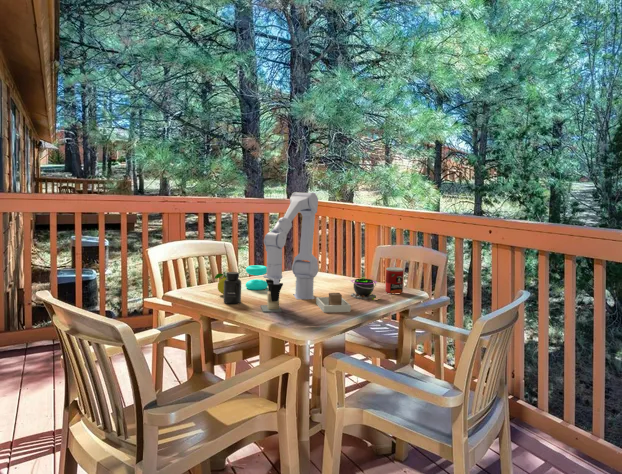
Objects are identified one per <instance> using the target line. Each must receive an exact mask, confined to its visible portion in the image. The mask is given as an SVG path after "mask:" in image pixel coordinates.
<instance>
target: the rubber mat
mask: <svg viewBox="0 0 622 474" xmlns="http://www.w3.org/2000/svg"><path fill="white" fill-rule="evenodd" d="M260 308H261V311H262V313H283V310H282V308H281V307H280V305H279V309H268V307H267V304H264V305H260Z"/></svg>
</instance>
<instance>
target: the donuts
mask: <svg viewBox="0 0 622 474" xmlns="http://www.w3.org/2000/svg"><path fill="white" fill-rule="evenodd" d="M245 272H246V273H247V274H248V275H251V276H264V275H267V265H266V266H265V265H260V264H257V265H256V264H255V265H248V266H247V267H246V268H245ZM245 287H246V288H247V289H248V290H250V291H251V290H252V291H261V290H263V291H264V290H265V289H267V288H268V285H267V282H266V280H263V279H250V280H248V281H247V282H246V283H245Z"/></svg>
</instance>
